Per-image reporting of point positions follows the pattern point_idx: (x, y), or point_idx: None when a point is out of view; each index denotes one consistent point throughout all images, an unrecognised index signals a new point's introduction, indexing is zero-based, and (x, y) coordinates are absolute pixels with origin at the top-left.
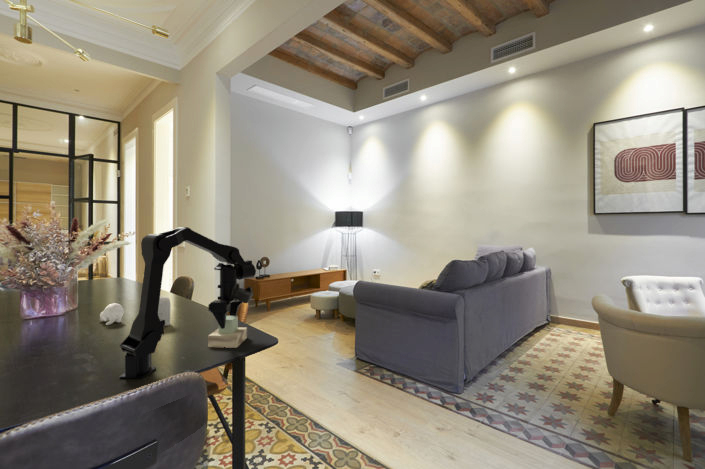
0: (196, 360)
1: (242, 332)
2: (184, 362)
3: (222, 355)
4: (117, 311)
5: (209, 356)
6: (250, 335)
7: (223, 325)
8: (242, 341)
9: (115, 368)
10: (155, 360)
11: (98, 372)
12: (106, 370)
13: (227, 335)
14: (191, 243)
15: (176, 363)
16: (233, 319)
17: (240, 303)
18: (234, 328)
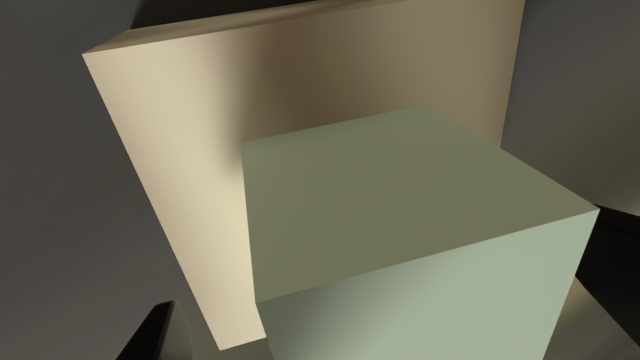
0: (629, 138)
1: (301, 16)
2: (636, 179)
3: (592, 15)
4: None
5: (587, 103)
6: (17, 33)
7: (624, 221)
8: (281, 6)
9: (614, 341)
10: (576, 299)
11: (630, 351)
12: (622, 347)
13: (485, 123)
14: None
15: (636, 205)
16: (527, 218)
17: None
18: (377, 137)
